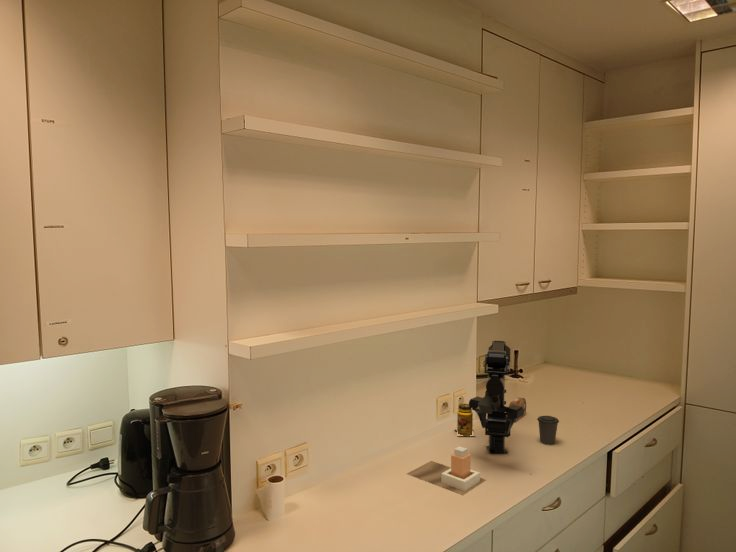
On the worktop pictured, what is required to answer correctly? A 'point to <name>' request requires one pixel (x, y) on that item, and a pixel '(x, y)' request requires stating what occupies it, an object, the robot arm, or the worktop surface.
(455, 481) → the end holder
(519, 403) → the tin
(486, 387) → the robot arm
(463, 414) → the condiment
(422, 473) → the board
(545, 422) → the coffee cup
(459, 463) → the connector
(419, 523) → the worktop surface
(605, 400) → the worktop surface
